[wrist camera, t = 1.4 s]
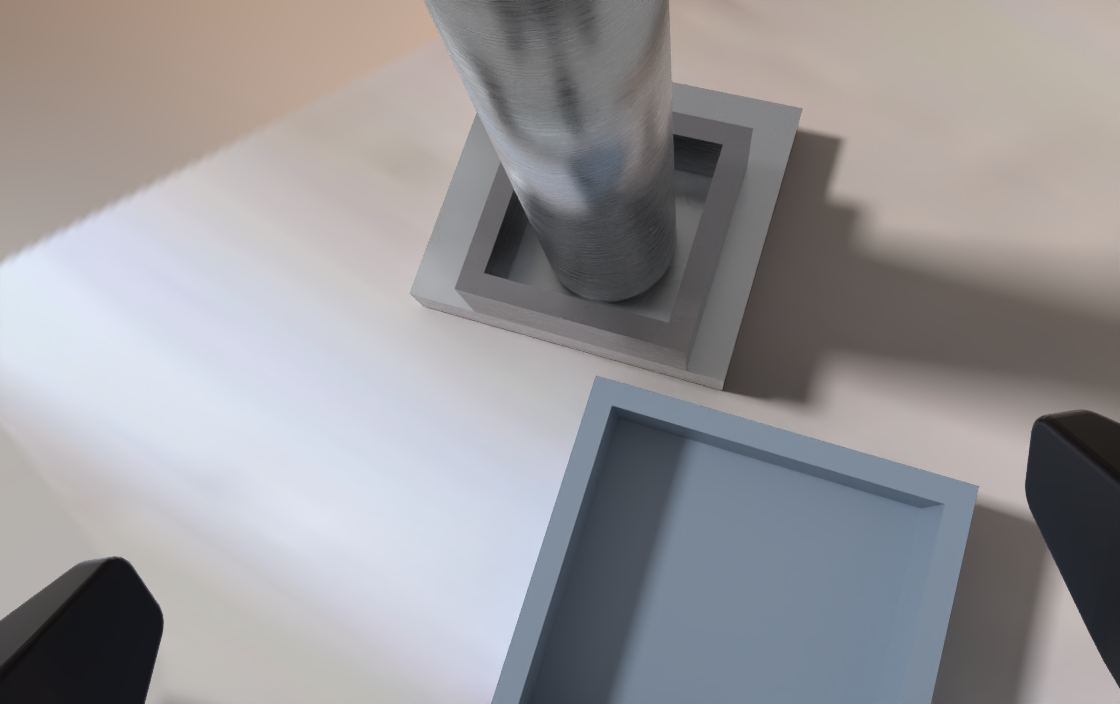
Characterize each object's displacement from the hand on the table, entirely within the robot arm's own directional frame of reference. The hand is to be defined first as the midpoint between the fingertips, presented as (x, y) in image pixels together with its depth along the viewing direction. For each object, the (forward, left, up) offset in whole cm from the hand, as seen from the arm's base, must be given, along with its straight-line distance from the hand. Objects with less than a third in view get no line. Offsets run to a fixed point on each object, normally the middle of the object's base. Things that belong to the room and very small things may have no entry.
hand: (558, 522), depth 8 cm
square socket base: (+3, -9, -14) cm, 17 cm away
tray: (-3, +1, -14) cm, 14 cm away
